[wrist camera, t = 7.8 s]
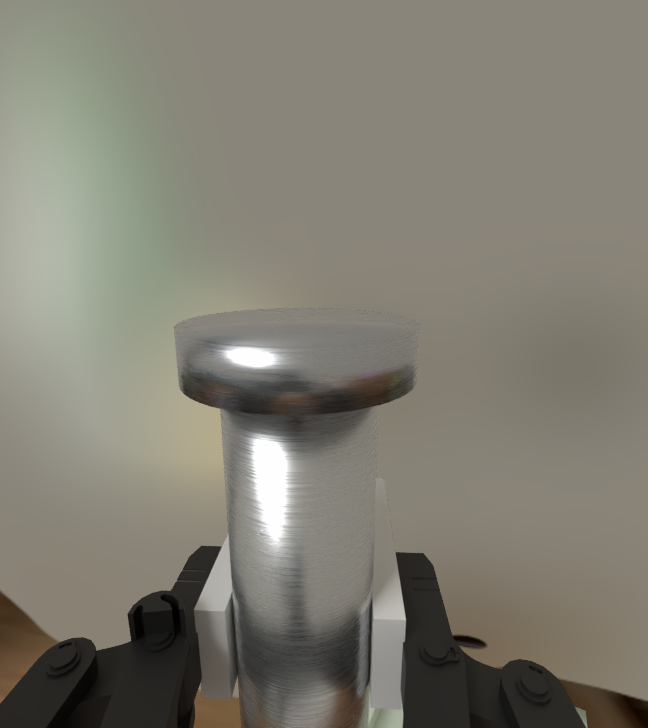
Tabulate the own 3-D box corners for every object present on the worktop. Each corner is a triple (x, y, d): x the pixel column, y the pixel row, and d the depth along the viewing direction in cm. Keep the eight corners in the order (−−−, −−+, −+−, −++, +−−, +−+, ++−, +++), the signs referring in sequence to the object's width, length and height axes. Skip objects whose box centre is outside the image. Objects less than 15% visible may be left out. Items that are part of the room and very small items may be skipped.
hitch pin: (192, 953, 13) (114, 330, 8) (283, 771, 17) (266, 304, 13) (349, 1102, 10) (368, 356, 6) (406, 848, 15) (442, 314, 10)
